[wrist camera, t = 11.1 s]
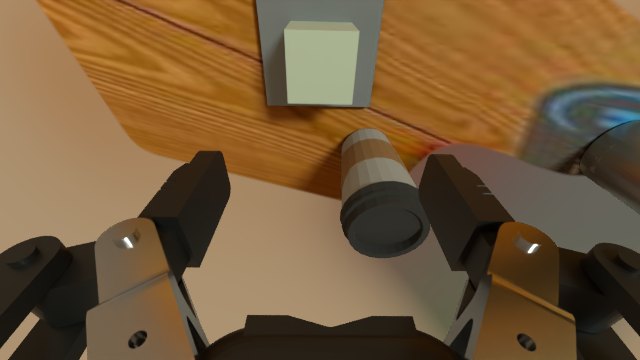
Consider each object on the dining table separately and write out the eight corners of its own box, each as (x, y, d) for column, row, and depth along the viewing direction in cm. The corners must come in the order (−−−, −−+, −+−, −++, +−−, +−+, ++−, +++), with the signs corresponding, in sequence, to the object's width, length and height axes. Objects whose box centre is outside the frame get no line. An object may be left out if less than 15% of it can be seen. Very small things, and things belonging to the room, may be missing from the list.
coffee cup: (394, 169, 37) (430, 257, 25) (337, 176, 38) (345, 264, 26) (397, 115, 32) (442, 192, 20) (330, 124, 33) (337, 204, 21)
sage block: (351, 22, 25) (359, 31, 21) (346, 84, 29) (352, 104, 24) (290, 20, 25) (283, 29, 20) (292, 83, 29) (287, 103, 24)
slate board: (383, -9, 25) (385, -9, 24) (368, 103, 31) (369, 107, 31) (256, -12, 25) (254, -11, 24) (268, 102, 31) (267, 105, 30)
